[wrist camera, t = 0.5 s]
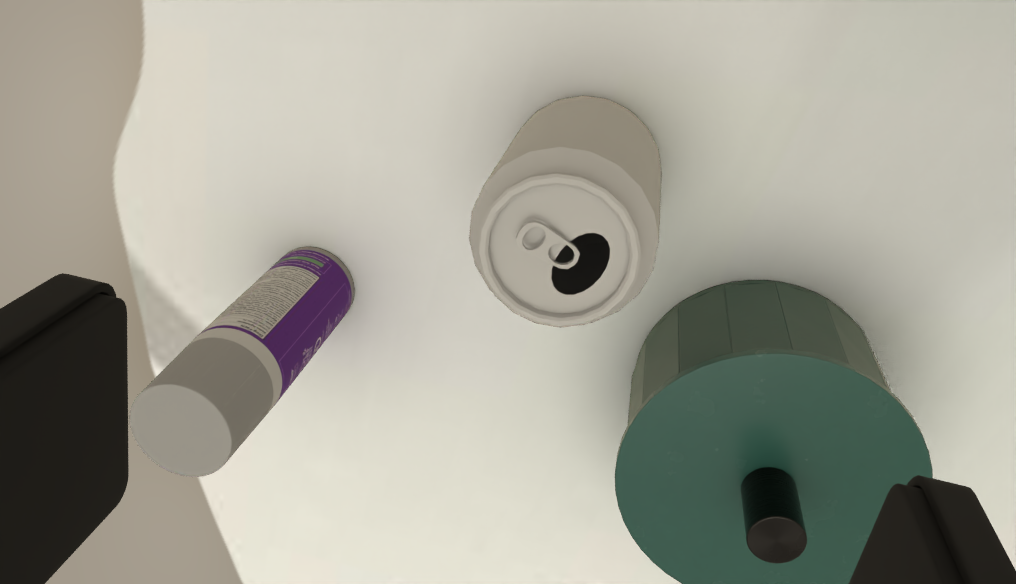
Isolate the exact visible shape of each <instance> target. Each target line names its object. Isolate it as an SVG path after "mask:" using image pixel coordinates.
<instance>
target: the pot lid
mask: <svg viewBox="0 0 1016 584" xmlns="http://www.w3.org/2000/svg"><path fill="white" fill-rule="evenodd" d="M917 475H920V476H924V477H928V478H932V465H931V460H930V455H929V451H928V449H927V446H926V443H925V441H924V438H923V436H922V433H921V431H920V429H919V427H918V426H917V424H916V422H915V421H914V419H913V417H912V415H911V414H910V413H909V411H908V410H907V409H906V408H905V406H904V405H903V404H902V403H901V401H900V400H899V399H898V398H897V397H896V396H895V395H894V394H893V393H891V392H890V391H889V390H888V389H887V388H886V387H885V386H884V385H882V384H881V383H879V382H878V381H877V380H875V379H874V378H872V377H871V376H869V375H868V374H866V373H864V372H862V371H861V370H859V369H857V368H855V367H853V366H851V365H849V364H846V363H844V362H841V361H838V360H836V359H833V358H830V357H827V356H823V355H819V354H815V353H811V352H806V351H798V350H790V349H755V350H745V351H738V352H734V353H729V354H725V355H720V356H717V357H714V358H711V359H709V360H706V361H703V362H700V363H698V364H696V365H694V366H692V367H690V368H688V369H686V370H683V371H682V372H680V373H679V374H677V375H675V376H674V377H672V378H671V379H669V380H668V381H666V382H665V383H664V384H663V385H661V386H660V387H659V388H658V389H657V390H655V391H654V392H653V393H652V394H651V395H650V396H649V397H648V398H647V399H646V400H645V402H644V403H643V404H642V405H641V406H640V407H639V408H638V410H637V411H636V413H635V414H634V416H633V417H632V419H631V420H630V422H629V424H628V426H627V428H626V430H625V432H624V435H623V437H622V440H621V443H620V446H619V450H618V453H617V461H616V469H615V491H616V496H617V501H618V506H619V509H620V512H621V515H622V518H623V521H624V523H625V525H626V527H627V528H628V530H629V532H630V534H631V536H632V537H633V539H634V540H635V542H636V543H637V544H638V546H639V547H640V549H641V550H642V551H643V552H644V553H645V554H646V555H647V556H648V557H649V558H650V560H651V561H652V562H653V563H655V564H656V565H657V566H658V567H659V568H661V569H662V570H663V571H664V572H665V573H667V574H668V575H670V576H671V577H673V578H674V579H676V580H677V581H679V582H680V583H682V584H849V582H850V579H851V577H852V575H853V572H854V570H855V568H856V566H857V563H858V561H859V559H860V556H861V554H862V552H863V549H864V547H865V545H866V543H867V540H868V538H869V536H870V533H871V531H872V529H873V526H874V524H875V522H876V520H877V517H878V515H879V513H880V510H881V508H882V506H883V503H884V501H885V499H886V497H887V494H888V492H889V491H890V489H891V488H892V486H893V485H894V484H897V483H899V484H903V485H907V484H908V482H909V481H910V480H911V479H912V478H913V477H915V476H917ZM932 479H933V478H932Z"/></svg>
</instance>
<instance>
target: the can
mask: <svg viewBox="0 0 1016 584" xmlns="http://www.w3.org/2000/svg"><path fill="white" fill-rule="evenodd" d="M661 177H662V171H661V164H660V157H659V150H658V147H657V146H656V144H655V142H654V140H653V138H652V136H651V134H650V132H649V130H648V128H647V127H646V126H645V125H644V124H643V123H642V122H641V121H640V120H639V119H638V118H637V117H636V116H635V115H634V114H633V113H632V112H631V111H630V110H628V109H626V108H624V107H622V106H620V105H618V104H616V103H614V102H612V101H610V100H608V99H603V98H596V97H589V96H577V97H572V98H566V99H560V100H557V101H555V102H553V103H552V104H550V105H548V106H546V107H544V108H542V109H540V110H538V111H537V112H536V113H535V114H534V115H533V116H532V117H531V118H530V119H529V120H528V121H527V122H526V123H525V124H524V125H523V127H522V128H521V129H520V130H519V132H518V133H517V135H516V137H515V138H514V140H513V141H512V143H511V144H510V146H509V147H508V149H507V150H506V152H505V153H504V155H503V157H502V158H501V160H500V161H499V163H498V164H497V166H496V167H495V169H494V170H493V172H492V173H491V175H490V177H489V178H488V180H487V181H486V183H485V184H484V186H483V188H482V190H481V192H480V195H479V197H478V199H477V201H476V203H475V205H474V208H473V210H472V215H471V225H470V235H469V240H470V244H471V249H472V253H473V257H474V262H475V266H476V267H477V269H478V271H479V272H480V274H481V276H482V277H483V279H484V281H485V282H486V284H487V286H488V287H489V289H490V290H491V291H492V292H493V293H494V295H495V296H496V297H497V298H498V299H499V300H500V301H501V302H502V303H503V304H505V305H506V306H507V307H508V308H509V309H510V310H511V311H512V312H514V313H516V314H518V315H520V316H522V317H524V318H526V319H528V320H530V321H532V322H534V323H538V324H543V325H549V326H555V327H568V326H577V325H585V324H587V323H593V322H595V321H597V320H600V319H602V318H604V317H607V316H609V315H611V314H614V313H616V312H618V311H619V310H621V309H622V308H623V307H624V306H625V305H626V304H627V303H629V302H630V301H631V300H632V299H633V298H634V297H636V296H637V295H638V294H639V293H640V291H641V289H642V288H643V286H644V284H645V283H646V281H647V279H648V278H649V276H650V274H651V272H652V271H653V268H654V263H655V258H656V253H657V248H658V243H659V224H660V201H661Z"/></svg>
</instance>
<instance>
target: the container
mask: <svg viewBox="0 0 1016 584" xmlns="http://www.w3.org/2000/svg"><path fill="white" fill-rule="evenodd" d="M353 299H354V283H353V280H352V277H351V275H350V273H349V271H348V269H347V268H346V266H345V265H344V264H343V263H342V262H341V261H340V260H339V259H338V258H337V257H336V256H334V255H333V254H331V253H329V252H327V251H325V250H323V249H320V248H315V247H301V248H297V249H294V250H292V251H290V252H289V253H287V254H286V255H285V256H284V257H282V258H281V259H280V260H279V261H278V262H277V263H276V264H275V265H274V266H272V267H271V268H270V269H269V270H268V271H267V272H266V273H265V274H264V275H263V276H262V277H261V278H259V279H258V280H257V281H256V282H255V283H254V284H253V285H252V286H251V287H250V288H249V289H248V290H246V291H245V292H244V293H243V294H242V295H241V296H240V297H239V298H238V299H237V300H236V301H235V302H233V303H232V304H231V305H230V306H229V307H228V308H227V309H226V310H225V311H224V312H223V313H222V314H220V315H219V316H218V317H217V318H216V319H215V320H214V321H213V322H212V323H211V324H210V325H209V326H207V327H206V328H205V329H204V330H203V331H202V332H201V333H200V334H199V335H198V336H197V337H196V338H195V339H194V340H193V341H192V342H191V343H190V344H189V345H188V346H187V347H186V348H185V349H184V350H183V351H182V352H181V353H180V354H179V355H178V356H177V357H176V358H175V359H174V360H173V361H172V362H171V363H170V364H169V365H168V366H167V367H166V368H165V369H164V370H163V371H162V372H161V373H160V374H159V375H158V376H157V377H156V378H155V379H154V380H153V381H152V382H151V383H150V384H149V385H148V386H147V387H146V388H145V389H144V390H143V391H142V392H141V393H140V394H139V395H138V396H137V397H136V399H135V400H134V402H133V404H132V406H131V410H130V427H131V431H132V433H133V436H134V438H135V440H136V442H137V444H138V446H139V447H140V448H141V450H142V451H143V452H144V453H145V454H146V455H147V456H148V457H149V458H150V459H151V460H152V461H153V462H154V463H156V464H157V465H159V466H160V467H162V468H164V469H166V470H168V471H170V472H172V473H175V474H178V475H182V476H189V477H199V476H205V475H209V474H211V473H214V472H216V471H217V470H219V469H220V468H221V467H222V466H223V465H224V464H225V463H226V462H227V461H228V459H229V458H230V457H231V456H232V455H233V454H234V452H235V451H236V450H237V449H238V448H239V446H240V445H241V444H242V443H243V442H244V441H245V439H246V438H247V437H248V436H249V435H250V433H251V432H252V431H253V430H254V429H255V428H256V426H257V425H258V424H259V423H260V422H261V420H262V419H263V418H264V417H265V416H266V415H267V413H268V412H269V411H270V410H271V409H272V408H273V406H274V405H275V404H276V403H277V402H278V400H279V399H280V398H281V397H282V395H283V394H284V393H285V391H286V390H287V389H288V388H289V386H290V385H291V384H292V382H293V381H294V380H295V379H296V377H297V376H298V375H299V373H300V372H301V371H302V370H303V368H304V367H305V366H306V364H307V363H308V362H309V361H310V359H311V358H312V357H313V355H314V354H315V353H316V352H317V350H318V349H319V348H320V346H321V345H322V344H323V343H324V341H325V340H326V339H327V337H328V336H329V335H330V334H331V332H332V331H333V330H334V328H335V327H336V326H337V325H338V323H339V322H340V321H341V320H342V318H343V317H344V316H345V314H346V313H347V311H348V310H349V309H350V307H351V305H352V303H353Z"/></svg>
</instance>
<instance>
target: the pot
mask: <svg viewBox="0 0 1016 584" xmlns="http://www.w3.org/2000/svg"><path fill="white" fill-rule="evenodd" d="M755 349H790V350H798V351H806V352H811V353H815V354H819V355H823V356H827V357H830V358H833V359H836V360H838V361H841V362H844V363H846V364H849V365H851V366H853V367H855V368H857V369H859V370H861V371H862V372H864V373H866V374H868V375H869V376H871V377H872V378H874V379H875V380H877V381H878V382H879V383H881V384H882V385H884V386H885V387H886V388H887V389H888V390H889V391H890V389H889V387H888V384H887V382H886V380H885V377H884V375H883V373H882V370H881V368H880V366H879V364H878V362H877V360H876V358H875V356H874V353H873V351H872V349H871V347H870V345H869V343H868V341H867V339H866V337H865V335H864V333H863V331H862V329H861V328H860V326H858V325H857V324H856V323H855V322H854V321H853V319H852V318H851V317H850V316H848V315H847V314H846V313H845V312H844V311H843V310H842V309H841V308H840V307H838V306H837V305H835V304H834V303H833V302H831V301H830V300H828V299H827V298H825V297H823V296H821V295H819V294H817V293H815V292H813V291H810V290H808V289H805V288H802V287H800V286H796V285H792V284H788V283H784V282H777V281H768V280H746V281H738V282H731V283H726V284H722V285H718V286H715V287H712V288H709V289H706V290H704V291H701V292H699V293H697V294H695V295H693V296H691V297H689V298H687V299H686V300H684V301H683V302H681V303H680V304H678V305H677V306H675V307H674V308H673V309H671V310H670V311H669V312H668V313H667V314H666V315H665V316H664V317H662V319H661V320H660V321H659V322H658V323H657V324H656V326H655V327H654V328H653V329H652V331H651V332H650V334H649V335H648V337H647V338H646V340H645V342H644V344H643V346H642V348H641V351H640V353H639V356H638V359H637V363H636V366H635V370H634V372H633V375H632V382H631V393H630V405H629V416H628V424H629V422H630V420H631V419H632V417H633V416H634V414H635V413H636V411H637V410H638V408H639V407H640V406H641V405H642V404H643V403H644V402H645V400H646V399H647V398H648V397H649V396H650V395H651V394H652V393H653V392H654V391H655V390H657V389H658V388H659V387H660V386H661V385H663V384H664V383H665V382H666V381H668V380H669V379H671V378H672V377H674V376H675V375H677V374H679V373H680V372H682V371H683V370H686V369H688V368H690V367H692V366H694V365H696V364H698V363H700V362H703V361H706V360H709V359H711V358H714V357H717V356H720V355H725V354H729V353H734V352H738V351H745V350H755ZM890 392H891V391H890Z"/></svg>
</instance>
